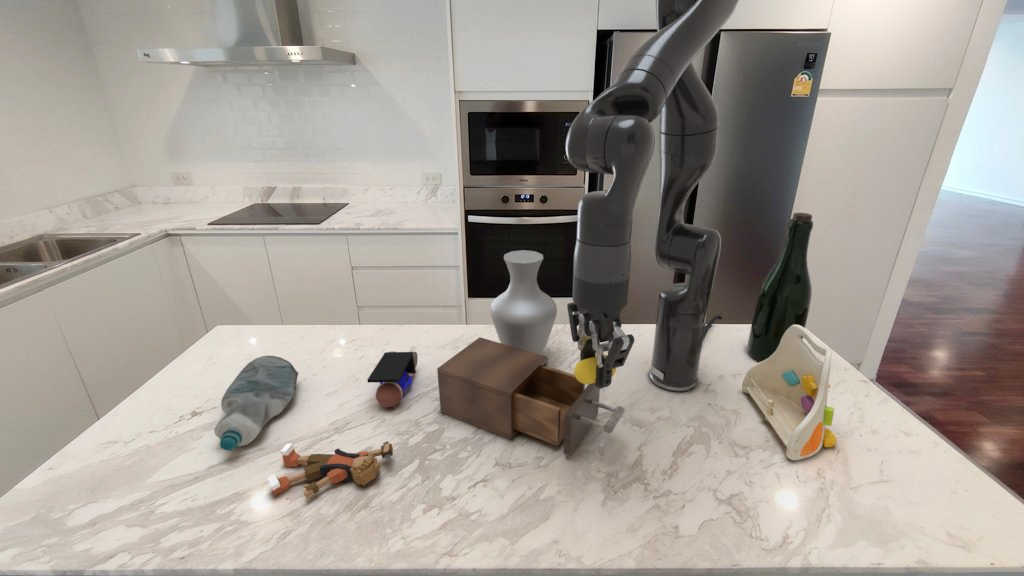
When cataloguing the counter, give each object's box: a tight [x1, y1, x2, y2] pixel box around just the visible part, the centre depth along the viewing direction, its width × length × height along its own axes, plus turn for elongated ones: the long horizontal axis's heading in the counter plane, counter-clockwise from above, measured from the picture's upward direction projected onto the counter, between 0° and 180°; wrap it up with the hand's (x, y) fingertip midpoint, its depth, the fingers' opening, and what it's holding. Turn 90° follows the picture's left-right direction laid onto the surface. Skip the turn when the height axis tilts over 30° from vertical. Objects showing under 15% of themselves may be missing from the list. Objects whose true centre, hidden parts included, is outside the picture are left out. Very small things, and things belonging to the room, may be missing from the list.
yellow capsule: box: [573, 354, 617, 385], centre depth 71 cm, size 7×4×4 cm, turn 114°
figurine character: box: [366, 351, 419, 408], centre depth 98 cm, size 7×8×15 cm
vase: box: [489, 249, 558, 355], centre depth 104 cm, size 14×14×25 cm
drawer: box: [513, 365, 625, 456], centre depth 85 cm, size 20×13×8 cm, turn 59°
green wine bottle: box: [746, 212, 814, 362], centre depth 103 cm, size 10×10×33 cm
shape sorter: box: [741, 325, 837, 461], centre depth 84 cm, size 20×10×18 cm, turn 177°
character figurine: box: [267, 441, 394, 499], centre depth 76 cm, size 12×5×18 cm
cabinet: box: [436, 336, 549, 441], centre depth 92 cm, size 16×14×10 cm
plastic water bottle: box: [213, 355, 299, 451], centre depth 90 cm, size 13×7×25 cm
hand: (594, 378), depth 71 cm, fingers closed on yellow capsule, 3 cm apart
